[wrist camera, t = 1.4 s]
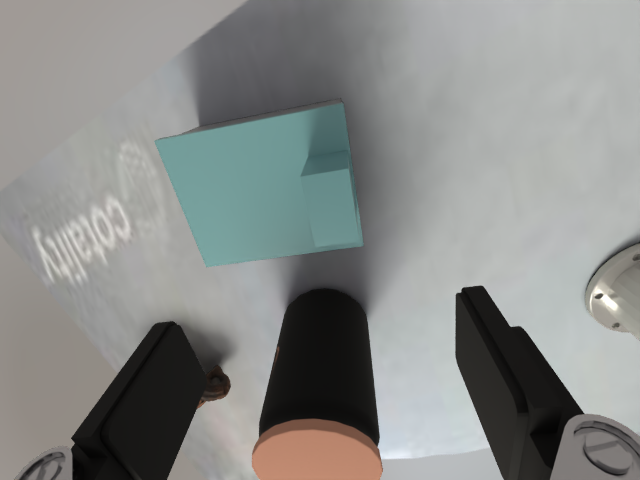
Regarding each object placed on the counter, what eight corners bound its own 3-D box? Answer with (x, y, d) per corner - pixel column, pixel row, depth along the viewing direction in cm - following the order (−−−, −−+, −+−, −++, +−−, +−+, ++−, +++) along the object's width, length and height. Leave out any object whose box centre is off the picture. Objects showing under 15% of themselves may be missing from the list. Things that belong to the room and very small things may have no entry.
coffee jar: (271, 296, 41) (227, 441, 25) (352, 274, 38) (360, 418, 22) (303, 354, 45) (282, 508, 29) (377, 337, 43) (398, 495, 27)
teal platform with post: (343, 100, 24) (343, 111, 18) (362, 232, 29) (368, 279, 23) (169, 135, 26) (112, 156, 20) (215, 253, 31) (182, 302, 25)
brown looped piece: (187, 391, 51) (140, 420, 44) (181, 332, 51) (133, 352, 43) (249, 400, 46) (209, 435, 39) (243, 335, 46) (201, 358, 39)
